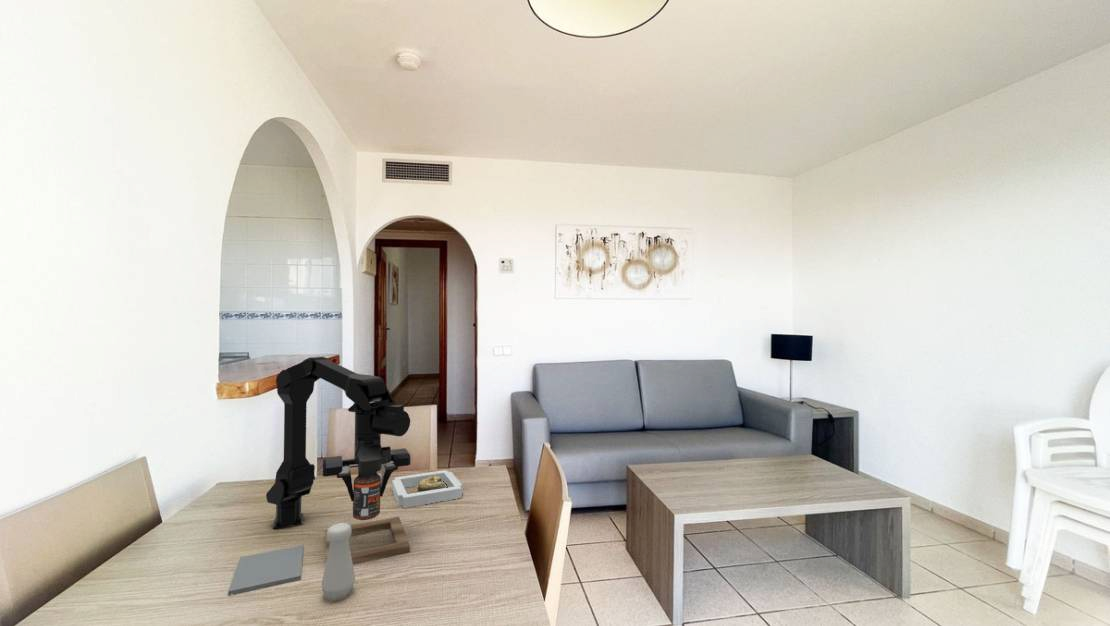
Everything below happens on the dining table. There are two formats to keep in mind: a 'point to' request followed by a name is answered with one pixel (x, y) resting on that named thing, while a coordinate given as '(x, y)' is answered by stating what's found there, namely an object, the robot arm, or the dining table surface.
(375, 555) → the frame
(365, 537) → the dining table surface
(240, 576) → the grey flat slab
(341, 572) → the salt shaker
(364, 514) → the supplement bottle
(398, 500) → the grey bread rim
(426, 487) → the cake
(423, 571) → the dining table surface
